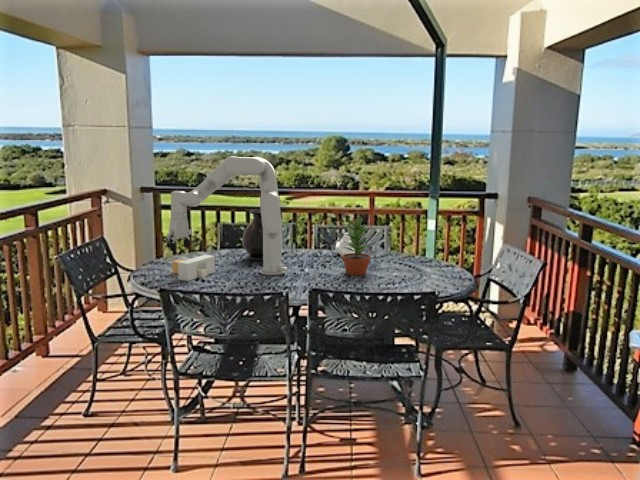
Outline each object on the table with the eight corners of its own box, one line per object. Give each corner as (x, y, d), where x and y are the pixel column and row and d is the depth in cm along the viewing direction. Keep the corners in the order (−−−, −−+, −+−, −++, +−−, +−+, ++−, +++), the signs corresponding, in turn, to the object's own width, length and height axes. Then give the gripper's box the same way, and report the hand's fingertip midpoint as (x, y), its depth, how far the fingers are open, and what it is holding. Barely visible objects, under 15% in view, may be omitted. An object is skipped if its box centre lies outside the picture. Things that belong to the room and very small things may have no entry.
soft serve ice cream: (354, 254, 332) (360, 232, 327) (352, 261, 317) (358, 239, 313) (334, 248, 332) (341, 226, 328) (331, 255, 318) (338, 233, 314)
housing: (214, 272, 277) (214, 256, 276) (188, 280, 260) (187, 263, 259) (205, 270, 280) (205, 254, 279) (178, 279, 263) (178, 262, 261)
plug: (208, 275, 270) (208, 264, 269) (200, 278, 266) (200, 266, 265) (180, 270, 280) (180, 259, 279) (172, 272, 276) (172, 261, 275)
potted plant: (362, 268, 289) (363, 212, 284) (374, 275, 275) (376, 217, 270) (336, 270, 284) (337, 214, 278) (348, 277, 270) (349, 218, 264)
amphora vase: (275, 263, 297) (275, 213, 292) (237, 262, 300) (236, 212, 295) (283, 255, 318) (283, 208, 312) (248, 253, 321) (248, 207, 316)
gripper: (185, 213, 279) (186, 245, 282) (160, 217, 264) (161, 251, 267) (196, 214, 275) (197, 247, 279) (172, 218, 260) (173, 253, 264)
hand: (179, 249), depth 273 cm, fingers open, 9 cm apart
